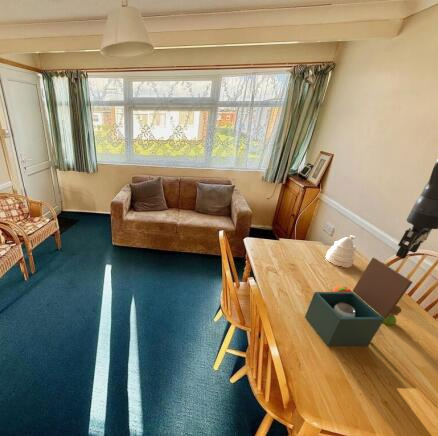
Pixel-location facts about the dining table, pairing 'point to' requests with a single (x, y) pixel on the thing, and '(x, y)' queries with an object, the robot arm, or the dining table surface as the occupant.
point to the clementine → (342, 289)
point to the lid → (381, 287)
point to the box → (342, 319)
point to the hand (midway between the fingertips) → (405, 254)
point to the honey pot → (342, 252)
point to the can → (344, 310)
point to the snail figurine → (392, 316)
